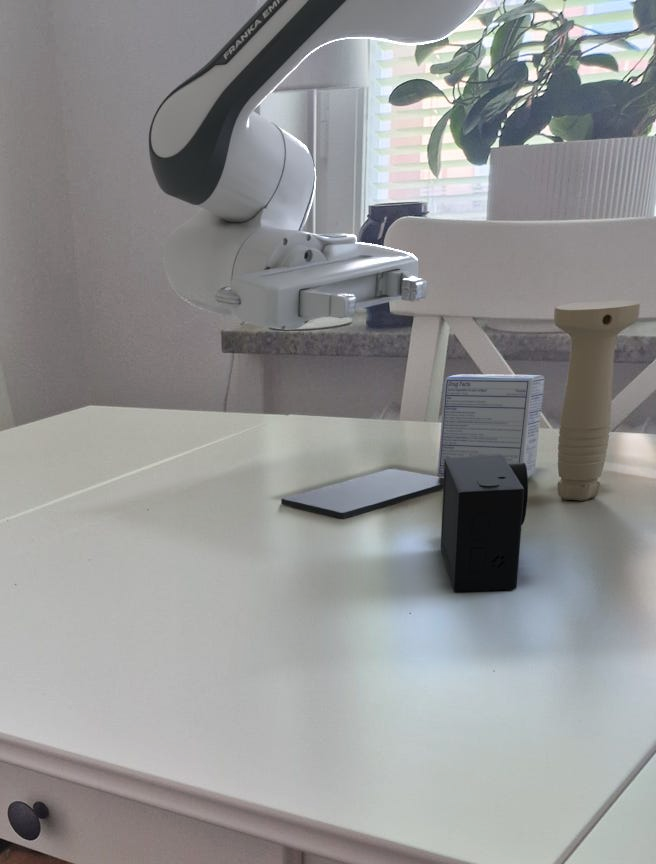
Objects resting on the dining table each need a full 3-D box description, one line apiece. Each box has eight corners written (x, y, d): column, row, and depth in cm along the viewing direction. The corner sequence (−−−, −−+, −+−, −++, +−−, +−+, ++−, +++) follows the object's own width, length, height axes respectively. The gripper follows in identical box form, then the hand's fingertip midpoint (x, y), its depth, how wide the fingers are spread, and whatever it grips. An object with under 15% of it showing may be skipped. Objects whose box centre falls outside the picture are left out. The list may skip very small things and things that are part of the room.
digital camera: (534, 590, 80) (543, 486, 76) (454, 593, 81) (459, 490, 77) (512, 546, 89) (520, 452, 85) (440, 549, 89) (444, 456, 86)
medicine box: (535, 477, 106) (547, 374, 103) (521, 482, 103) (533, 376, 99) (451, 472, 110) (460, 373, 106) (435, 477, 106) (444, 375, 103)
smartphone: (391, 473, 111) (391, 468, 111) (455, 485, 106) (455, 480, 105) (281, 504, 105) (280, 498, 104) (343, 518, 99) (342, 513, 99)
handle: (625, 500, 97) (649, 304, 90) (549, 507, 97) (567, 311, 90) (604, 487, 101) (625, 298, 94) (531, 493, 101) (546, 305, 94)
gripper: (203, 259, 109) (305, 278, 100) (357, 231, 119) (462, 245, 110) (204, 331, 113) (303, 355, 104) (354, 298, 122) (455, 317, 114)
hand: (386, 298), depth 107 cm, fingers open, 8 cm apart
